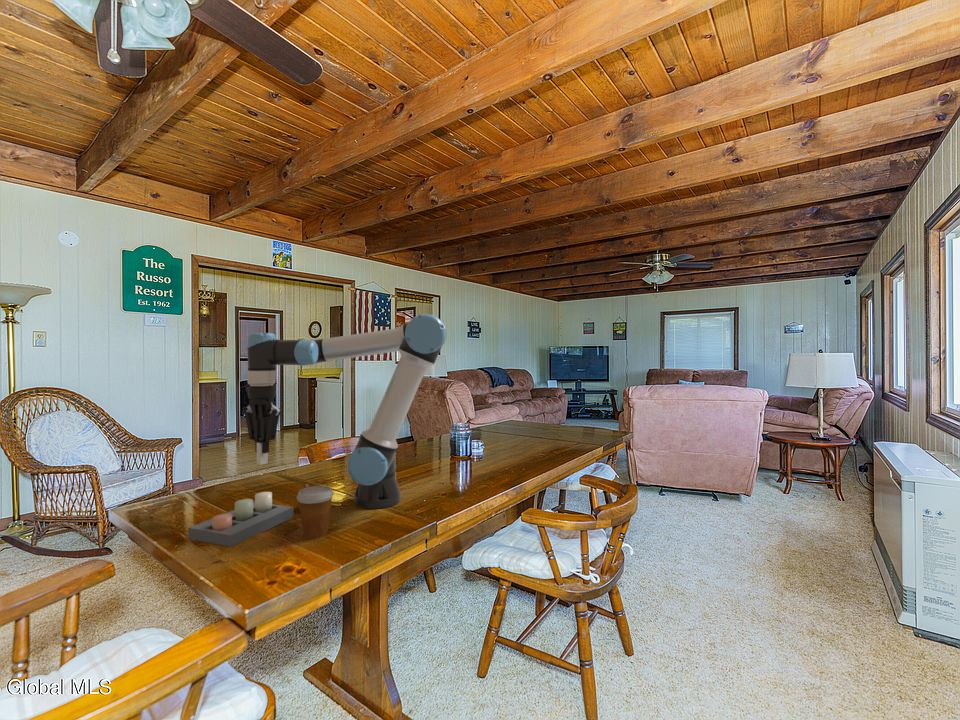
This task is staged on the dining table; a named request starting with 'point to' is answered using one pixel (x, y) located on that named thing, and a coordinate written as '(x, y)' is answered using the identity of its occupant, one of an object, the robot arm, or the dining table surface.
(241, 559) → the dining table surface
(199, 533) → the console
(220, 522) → the terracotta button
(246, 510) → the sage button
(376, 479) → the robot arm
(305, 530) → the disposable coffee cup
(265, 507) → the cream short cylinder
